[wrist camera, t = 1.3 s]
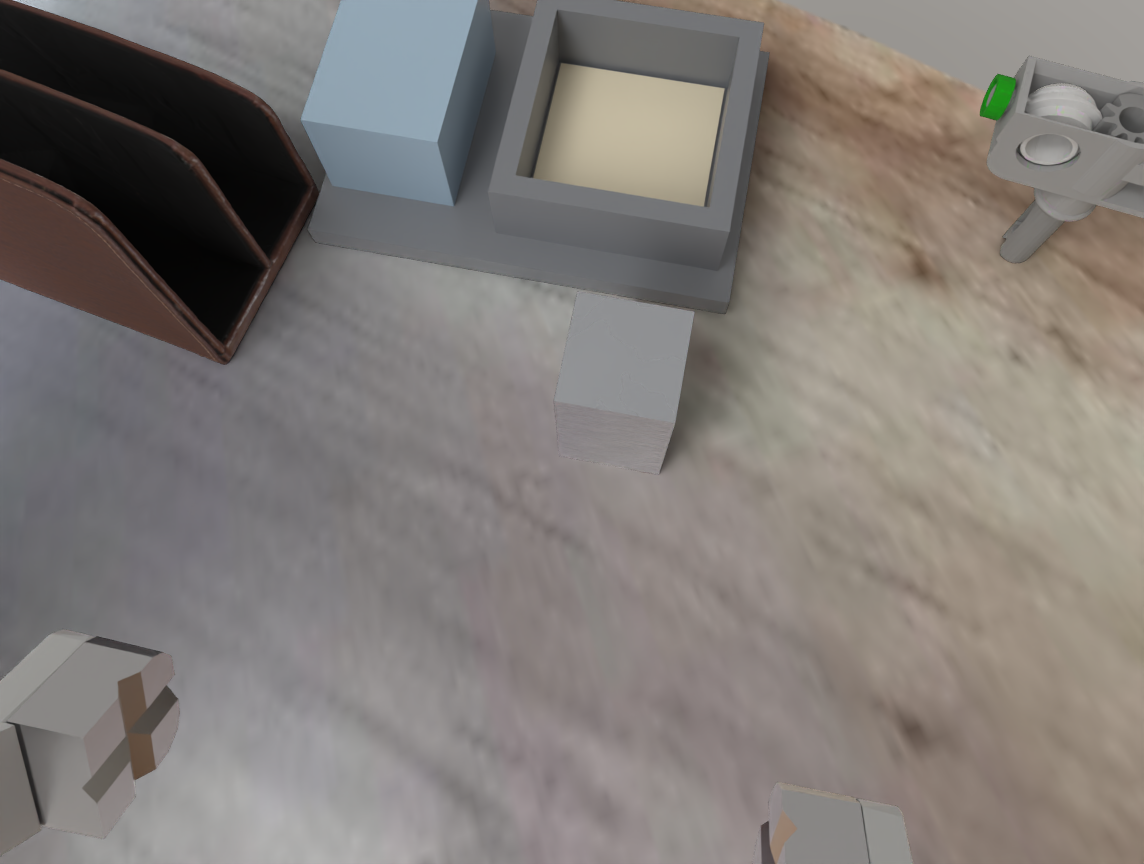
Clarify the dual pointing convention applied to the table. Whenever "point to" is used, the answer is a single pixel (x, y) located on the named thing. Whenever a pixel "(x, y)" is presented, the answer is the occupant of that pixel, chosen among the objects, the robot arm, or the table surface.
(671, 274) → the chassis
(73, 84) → the letter holder
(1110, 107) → the mechanical component
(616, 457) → the grey square pillar block
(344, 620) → the table surface
